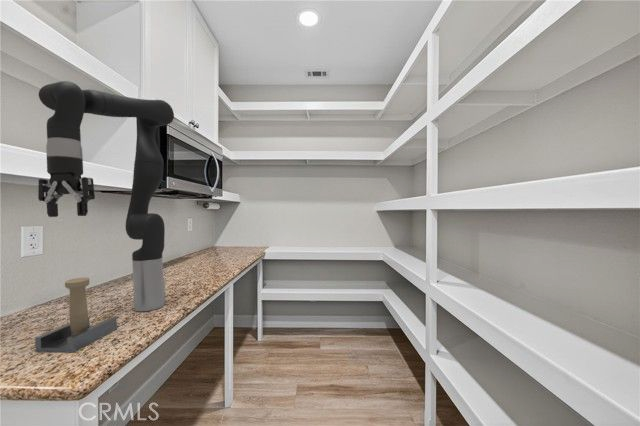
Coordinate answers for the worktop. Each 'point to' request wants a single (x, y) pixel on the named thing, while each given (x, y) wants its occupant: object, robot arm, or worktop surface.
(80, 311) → the handle
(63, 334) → the floor track
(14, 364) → the worktop surface
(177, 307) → the worktop surface
